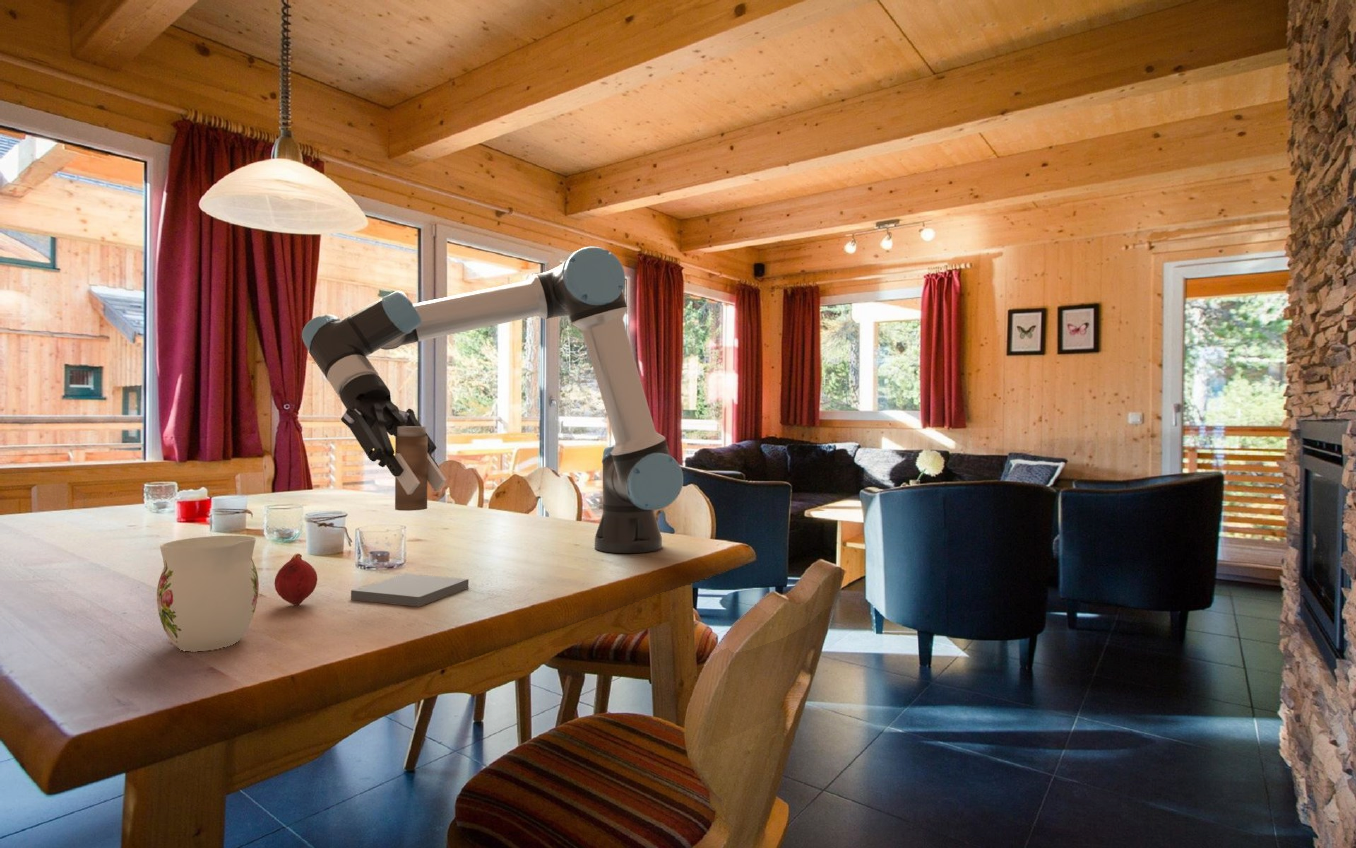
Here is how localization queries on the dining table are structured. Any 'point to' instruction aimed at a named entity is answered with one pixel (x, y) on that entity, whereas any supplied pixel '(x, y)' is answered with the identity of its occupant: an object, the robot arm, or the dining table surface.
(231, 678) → the dining table surface
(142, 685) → the dining table surface
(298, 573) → the onion
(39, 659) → the dining table surface
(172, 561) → the pitcher
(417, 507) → the pepper mill
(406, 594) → the slate board
